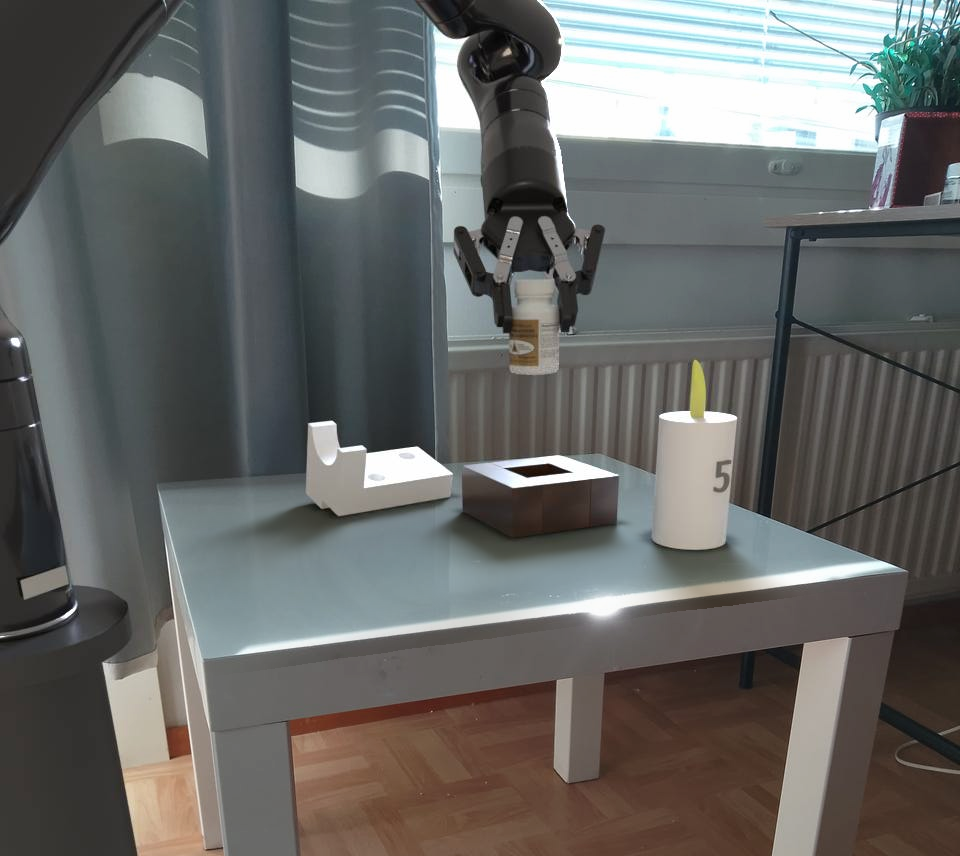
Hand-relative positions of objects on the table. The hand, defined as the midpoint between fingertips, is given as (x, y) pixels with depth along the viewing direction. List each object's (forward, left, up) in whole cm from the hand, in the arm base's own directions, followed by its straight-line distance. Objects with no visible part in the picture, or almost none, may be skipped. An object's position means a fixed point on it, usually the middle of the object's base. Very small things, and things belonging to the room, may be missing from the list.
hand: (537, 325), depth 79 cm
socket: (+1, +2, -17) cm, 18 cm away
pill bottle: (+1, +2, -4) cm, 5 cm away
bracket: (-10, +15, -18) cm, 25 cm away
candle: (+9, -11, -18) cm, 23 cm away
